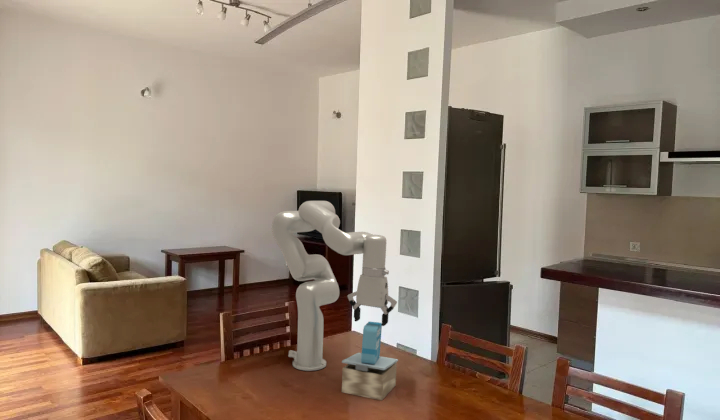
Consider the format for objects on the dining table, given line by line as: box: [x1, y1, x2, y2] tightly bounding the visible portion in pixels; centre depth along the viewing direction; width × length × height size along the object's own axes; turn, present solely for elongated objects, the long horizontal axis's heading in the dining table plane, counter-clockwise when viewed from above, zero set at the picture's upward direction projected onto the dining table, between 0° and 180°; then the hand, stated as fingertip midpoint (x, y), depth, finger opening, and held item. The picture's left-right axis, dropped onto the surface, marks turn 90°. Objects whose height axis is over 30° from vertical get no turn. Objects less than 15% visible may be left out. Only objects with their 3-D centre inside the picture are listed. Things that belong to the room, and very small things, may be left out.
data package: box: [361, 321, 383, 364], centre depth 170 cm, size 12×4×12 cm, turn 169°
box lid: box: [341, 352, 399, 371], centre depth 170 cm, size 15×15×2 cm
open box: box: [341, 361, 398, 401], centre depth 170 cm, size 14×14×8 cm
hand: (370, 322), depth 170 cm, fingers open, 9 cm apart
